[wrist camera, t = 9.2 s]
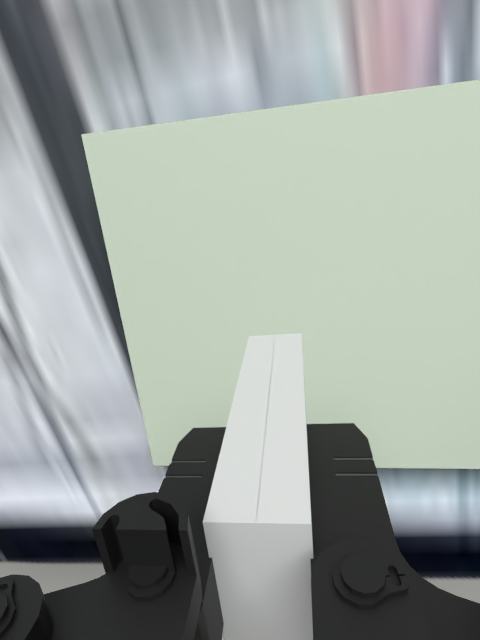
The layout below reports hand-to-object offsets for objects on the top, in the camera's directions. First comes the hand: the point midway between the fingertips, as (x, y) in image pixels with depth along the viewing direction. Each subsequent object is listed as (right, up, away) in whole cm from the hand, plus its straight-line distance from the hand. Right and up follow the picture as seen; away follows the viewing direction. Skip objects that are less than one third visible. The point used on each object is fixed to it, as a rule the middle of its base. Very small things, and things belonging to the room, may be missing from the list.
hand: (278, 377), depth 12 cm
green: (+8, +5, +6) cm, 11 cm away
